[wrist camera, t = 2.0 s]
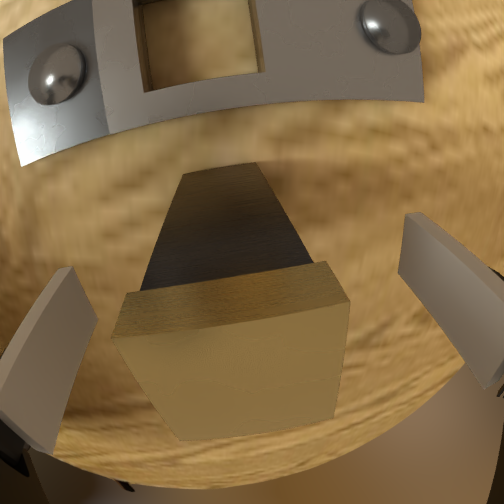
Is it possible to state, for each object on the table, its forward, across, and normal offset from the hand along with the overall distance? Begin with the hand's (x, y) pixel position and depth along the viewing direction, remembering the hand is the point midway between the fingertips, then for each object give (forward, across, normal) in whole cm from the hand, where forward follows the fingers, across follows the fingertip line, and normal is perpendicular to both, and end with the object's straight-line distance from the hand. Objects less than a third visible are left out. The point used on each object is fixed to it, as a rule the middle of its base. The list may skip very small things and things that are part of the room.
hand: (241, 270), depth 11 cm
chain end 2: (+8, +4, +10) cm, 13 cm away
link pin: (+8, 0, 0) cm, 8 cm away
